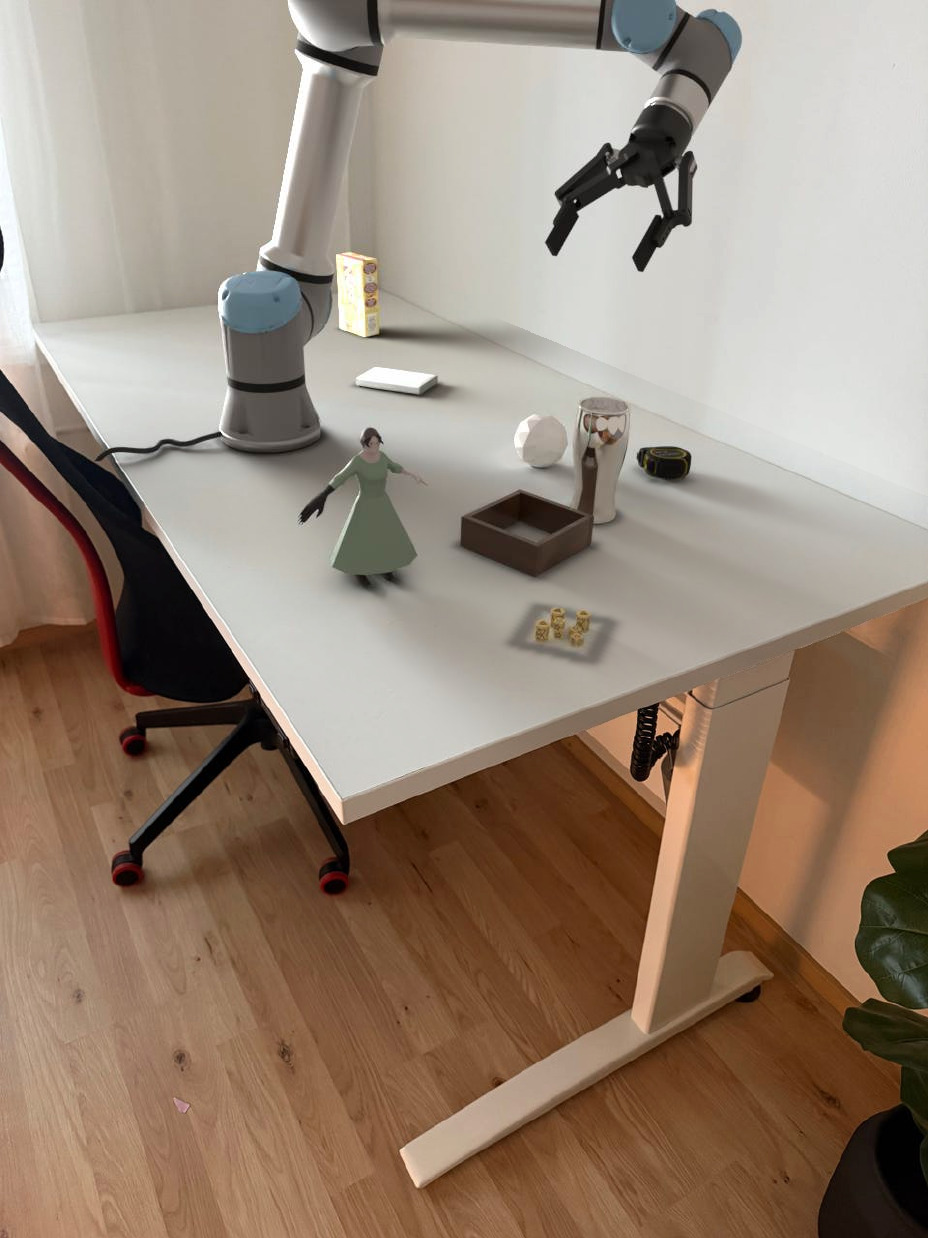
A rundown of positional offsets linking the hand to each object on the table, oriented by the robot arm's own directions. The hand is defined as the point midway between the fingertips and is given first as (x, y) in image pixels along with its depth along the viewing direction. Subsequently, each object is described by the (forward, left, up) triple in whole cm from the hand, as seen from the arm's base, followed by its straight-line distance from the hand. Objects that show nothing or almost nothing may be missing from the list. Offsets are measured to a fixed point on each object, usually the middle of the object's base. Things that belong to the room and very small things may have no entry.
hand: (592, 257), depth 123 cm
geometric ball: (-4, +3, -30) cm, 30 cm away
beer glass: (-4, -15, -30) cm, 34 cm away
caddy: (-16, -21, -30) cm, 40 cm away
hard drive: (-14, +45, -30) cm, 56 cm away
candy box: (-12, +82, -30) cm, 88 cm away
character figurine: (-37, -24, -30) cm, 53 cm away
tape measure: (+12, -5, -30) cm, 33 cm away
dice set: (-20, -41, -30) cm, 54 cm away
